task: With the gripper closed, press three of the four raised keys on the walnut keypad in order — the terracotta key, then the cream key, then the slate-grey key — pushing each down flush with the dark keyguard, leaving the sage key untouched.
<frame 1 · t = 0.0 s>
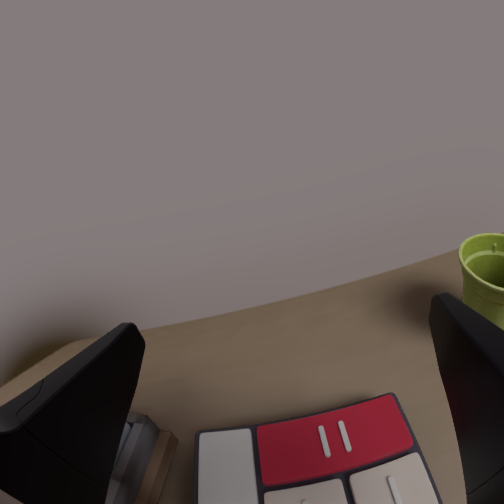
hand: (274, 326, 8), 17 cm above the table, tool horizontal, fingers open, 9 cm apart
key slate: (102, 440, 18), point 4 cm above the table, slide at 0.0 cm
plant pot: (484, 332, 22), on the table
keypad: (95, 476, 18), on the table
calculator: (312, 494, 15), on the table
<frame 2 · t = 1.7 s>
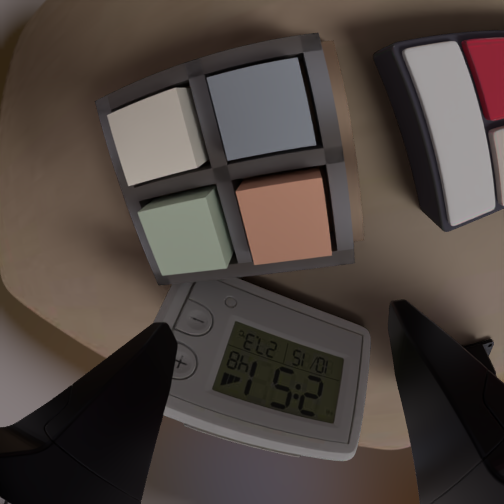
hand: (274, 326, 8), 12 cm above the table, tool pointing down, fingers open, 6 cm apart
key slate: (264, 108, 13), point 4 cm above the table, slide at 0.0 cm
key sage: (188, 231, 16), point 4 cm above the table, slide at 0.0 cm
key cream: (158, 135, 14), point 4 cm above the table, slide at 0.0 cm
key terracotta: (286, 215, 15), point 4 cm above the table, slide at 0.0 cm
digital clock: (274, 313, 24), on the table
keypad: (236, 158, 18), on the table
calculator: (486, 111, 14), on the table
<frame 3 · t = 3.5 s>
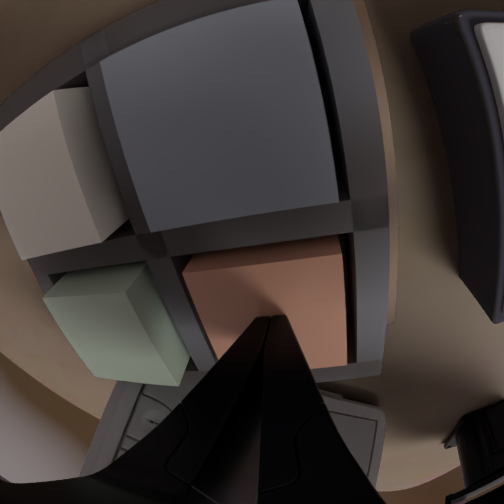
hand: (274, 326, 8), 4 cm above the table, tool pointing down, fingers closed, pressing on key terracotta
key slate: (224, 114, 6), point 4 cm above the table, slide at 0.0 cm
key sage: (119, 323, 10), point 4 cm above the table, slide at 0.0 cm
key cream: (53, 176, 7), point 4 cm above the table, slide at 0.0 cm
key terracotta: (275, 301, 9), point 3 cm above the table, slide at 0.7 cm, touching gripper
digital clock: (264, 390, 17), on the table
keypad: (196, 196, 11), on the table
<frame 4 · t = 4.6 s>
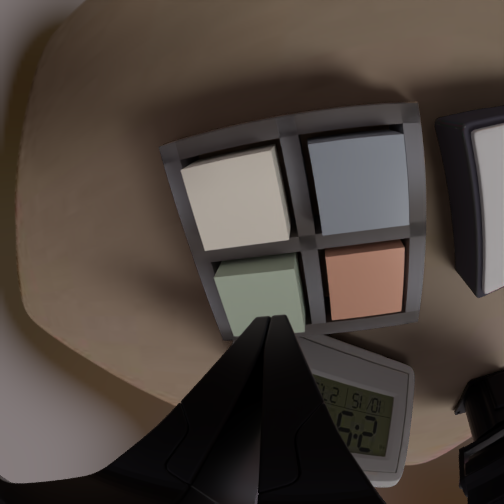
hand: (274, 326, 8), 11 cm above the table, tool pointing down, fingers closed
key slate: (358, 179, 12), point 4 cm above the table, slide at 0.0 cm
key sage: (263, 294, 16), point 4 cm above the table, slide at 0.0 cm
key cream: (239, 196, 14), point 4 cm above the table, slide at 0.0 cm
key terracotta: (363, 275, 15), point 3 cm above the table, slide at 0.8 cm
digital clock: (327, 354, 23), on the table
keypad: (307, 213, 18), on the table
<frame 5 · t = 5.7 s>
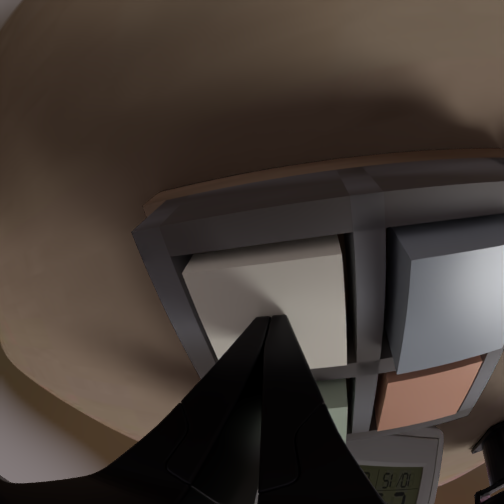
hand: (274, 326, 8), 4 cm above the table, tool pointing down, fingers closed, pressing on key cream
key slate: (455, 290, 7), point 4 cm above the table, slide at 0.0 cm
key sage: (296, 412, 11), point 4 cm above the table, slide at 0.0 cm
key cream: (275, 301, 9), point 3 cm above the table, slide at 0.7 cm, touching gripper
key terracotta: (422, 381, 10), point 3 cm above the table, slide at 0.8 cm
digital clock: (353, 424, 18), on the table
keypad: (354, 297, 12), on the table
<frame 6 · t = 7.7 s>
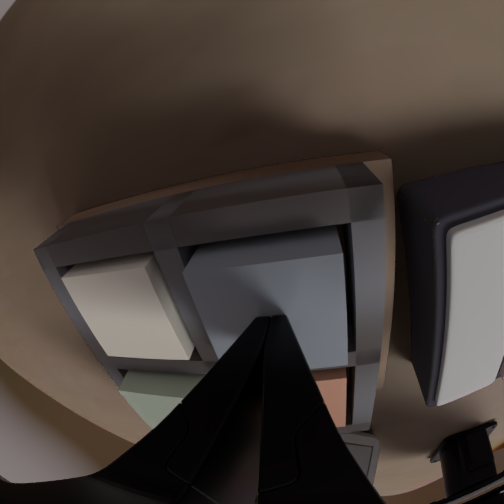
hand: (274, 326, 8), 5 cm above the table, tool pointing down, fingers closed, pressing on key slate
key slate: (276, 301, 9), point 4 cm above the table, slide at 0.2 cm, touching gripper
key sage: (180, 401, 13), point 4 cm above the table, slide at 0.0 cm
key cream: (134, 301, 11), point 3 cm above the table, slide at 0.7 cm
key terracotta: (298, 389, 12), point 3 cm above the table, slide at 0.8 cm
digital clock: (282, 423, 20), on the table
keypad: (235, 302, 14), on the table
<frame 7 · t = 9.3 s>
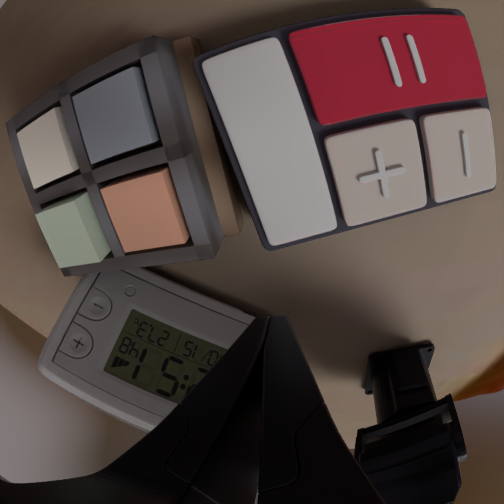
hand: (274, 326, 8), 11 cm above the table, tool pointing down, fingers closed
key slate: (120, 114, 13), point 3 cm above the table, slide at 0.7 cm
key sage: (75, 229, 16), point 4 cm above the table, slide at 0.0 cm
key cream: (53, 146, 14), point 3 cm above the table, slide at 0.7 cm
key terracotta: (149, 207, 16), point 3 cm above the table, slide at 0.8 cm
digital clock: (184, 304, 24), on the table
keypad: (122, 160, 18), on the table
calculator: (359, 112, 15), on the table
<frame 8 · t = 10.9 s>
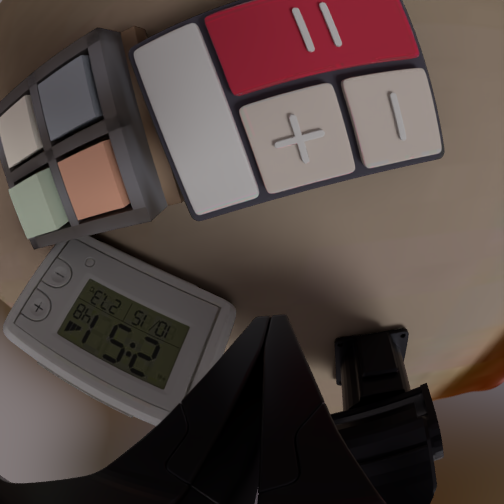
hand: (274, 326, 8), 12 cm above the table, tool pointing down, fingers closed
key slate: (75, 97, 14), point 3 cm above the table, slide at 0.7 cm
key sage: (40, 202, 17), point 4 cm above the table, slide at 0.0 cm
key cream: (25, 130, 15), point 3 cm above the table, slide at 0.7 cm
key terracotta: (98, 178, 16), point 3 cm above the table, slide at 0.8 cm
digital clock: (145, 281, 24), on the table
keypad: (85, 141, 18), on the table
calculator: (292, 88, 16), on the table
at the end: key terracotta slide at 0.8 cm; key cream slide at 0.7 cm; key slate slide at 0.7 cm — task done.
